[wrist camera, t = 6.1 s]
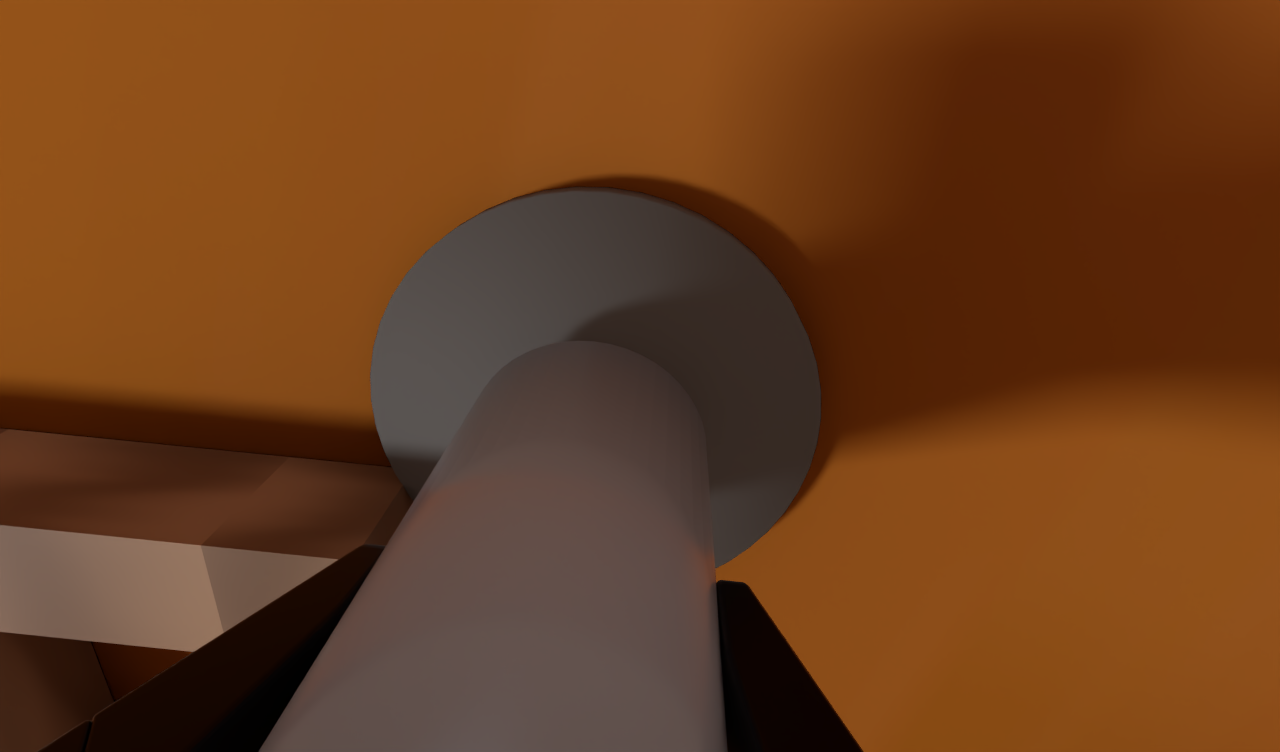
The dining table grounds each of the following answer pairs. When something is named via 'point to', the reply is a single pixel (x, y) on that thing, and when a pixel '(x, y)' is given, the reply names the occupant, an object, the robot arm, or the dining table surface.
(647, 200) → the coaster
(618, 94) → the dining table surface
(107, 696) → the frame
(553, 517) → the grey rounded cylinder
